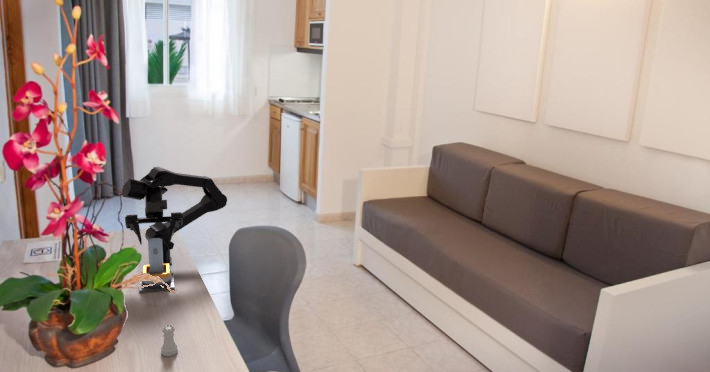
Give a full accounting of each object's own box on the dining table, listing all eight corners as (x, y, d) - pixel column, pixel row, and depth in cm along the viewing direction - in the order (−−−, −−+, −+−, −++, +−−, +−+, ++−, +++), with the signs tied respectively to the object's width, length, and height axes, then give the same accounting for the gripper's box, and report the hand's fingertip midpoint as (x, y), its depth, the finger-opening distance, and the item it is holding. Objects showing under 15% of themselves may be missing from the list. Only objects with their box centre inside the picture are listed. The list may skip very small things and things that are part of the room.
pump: (149, 271, 195) (148, 238, 192) (163, 269, 197) (162, 237, 193) (149, 279, 190) (147, 245, 186) (163, 277, 191) (162, 244, 188)
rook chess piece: (177, 356, 156) (176, 331, 154) (160, 357, 155) (158, 331, 153) (178, 347, 160) (177, 322, 158) (161, 348, 159) (160, 323, 157)
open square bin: (140, 278, 198) (139, 263, 197) (173, 275, 202) (172, 261, 200) (139, 293, 188) (138, 277, 187) (174, 289, 192) (173, 275, 190)
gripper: (123, 192, 191) (124, 235, 185) (181, 190, 197) (184, 231, 191) (126, 207, 201) (126, 248, 194) (181, 204, 207) (183, 244, 200)
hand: (155, 243), depth 194 cm, fingers open, 9 cm apart
